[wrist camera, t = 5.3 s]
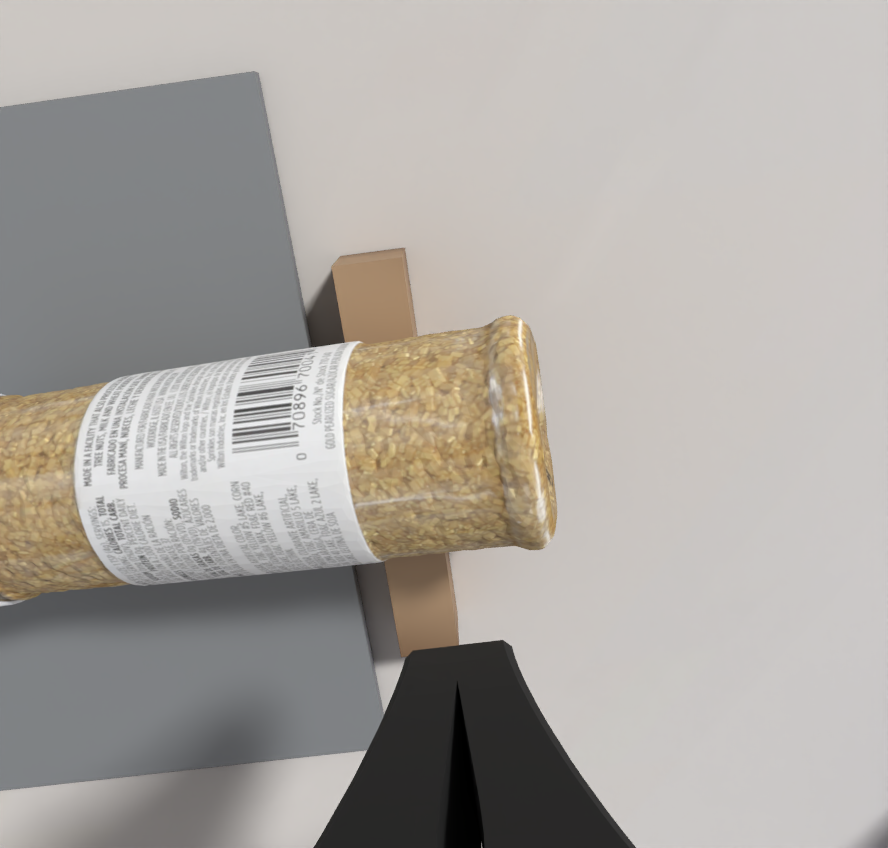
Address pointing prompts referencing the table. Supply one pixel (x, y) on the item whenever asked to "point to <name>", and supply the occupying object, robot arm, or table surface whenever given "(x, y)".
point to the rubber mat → (146, 350)
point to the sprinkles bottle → (278, 464)
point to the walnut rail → (374, 321)
